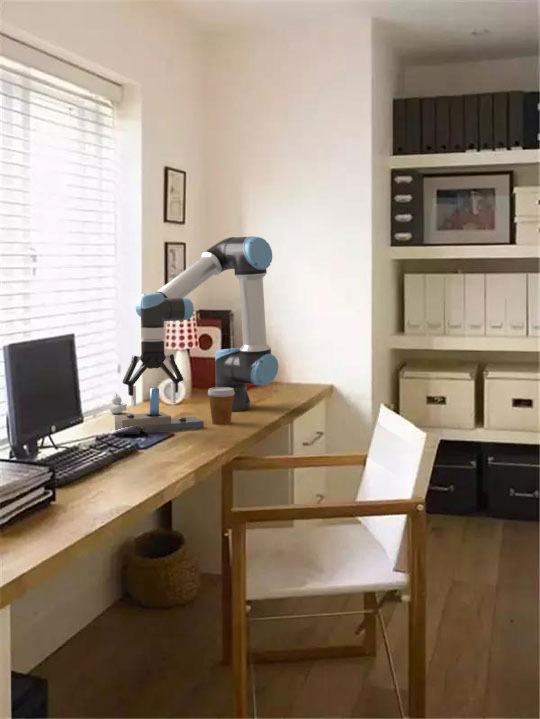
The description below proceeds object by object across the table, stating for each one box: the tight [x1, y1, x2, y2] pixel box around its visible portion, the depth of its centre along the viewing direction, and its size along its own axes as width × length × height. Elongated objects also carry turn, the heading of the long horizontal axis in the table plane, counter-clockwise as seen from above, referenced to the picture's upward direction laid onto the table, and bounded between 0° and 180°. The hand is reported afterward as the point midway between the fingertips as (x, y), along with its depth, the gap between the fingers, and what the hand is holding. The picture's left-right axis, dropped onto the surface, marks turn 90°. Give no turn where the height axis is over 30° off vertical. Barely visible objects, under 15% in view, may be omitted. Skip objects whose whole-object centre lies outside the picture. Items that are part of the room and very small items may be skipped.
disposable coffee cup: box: [207, 386, 235, 426], centre depth 302 cm, size 10×10×12 cm
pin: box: [149, 387, 160, 417], centre depth 289 cm, size 3×3×14 cm
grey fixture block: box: [114, 411, 205, 434], centre depth 291 cm, size 28×9×6 cm, turn 115°
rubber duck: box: [109, 393, 128, 415], centre depth 321 cm, size 5×7×8 cm
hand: (153, 404), depth 289 cm, fingers open, 13 cm apart
